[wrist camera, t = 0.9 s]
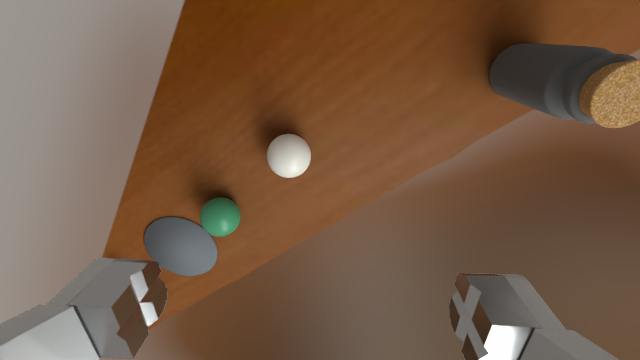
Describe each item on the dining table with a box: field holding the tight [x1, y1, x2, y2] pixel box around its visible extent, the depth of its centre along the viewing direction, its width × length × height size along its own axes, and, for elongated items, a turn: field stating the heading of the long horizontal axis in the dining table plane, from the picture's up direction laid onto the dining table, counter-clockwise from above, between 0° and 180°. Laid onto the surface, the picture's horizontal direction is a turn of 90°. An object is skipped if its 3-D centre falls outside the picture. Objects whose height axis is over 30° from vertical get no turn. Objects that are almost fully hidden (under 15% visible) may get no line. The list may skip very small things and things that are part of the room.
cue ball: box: [267, 134, 311, 178], centre depth 37 cm, size 6×6×6 cm
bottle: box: [489, 43, 640, 128], centre depth 27 cm, size 6×6×15 cm
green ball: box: [200, 197, 241, 236], centre depth 42 cm, size 6×6×6 cm
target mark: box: [144, 217, 218, 276], centre depth 49 cm, size 12×12×1 cm
